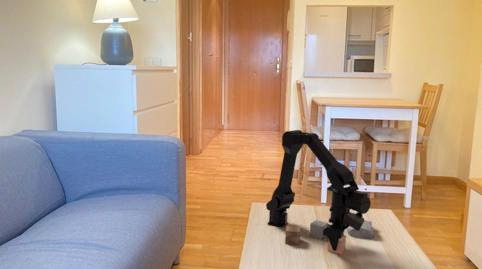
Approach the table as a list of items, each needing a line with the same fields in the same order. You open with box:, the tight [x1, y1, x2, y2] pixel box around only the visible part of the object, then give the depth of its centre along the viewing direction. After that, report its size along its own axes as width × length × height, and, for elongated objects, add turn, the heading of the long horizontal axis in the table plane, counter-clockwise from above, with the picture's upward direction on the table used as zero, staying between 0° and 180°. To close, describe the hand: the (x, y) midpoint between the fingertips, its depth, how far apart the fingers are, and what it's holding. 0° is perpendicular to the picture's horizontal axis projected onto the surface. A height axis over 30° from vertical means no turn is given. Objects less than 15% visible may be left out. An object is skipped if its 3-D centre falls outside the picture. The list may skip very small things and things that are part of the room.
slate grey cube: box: [309, 219, 329, 240], centre depth 156 cm, size 5×5×5 cm
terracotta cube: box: [327, 234, 347, 255], centre depth 144 cm, size 5×5×5 cm
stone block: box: [346, 219, 374, 240], centre depth 161 cm, size 12×5×10 cm
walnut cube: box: [284, 225, 301, 246], centre depth 150 cm, size 5×5×5 cm
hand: (336, 247), depth 144 cm, fingers open, 6 cm apart
